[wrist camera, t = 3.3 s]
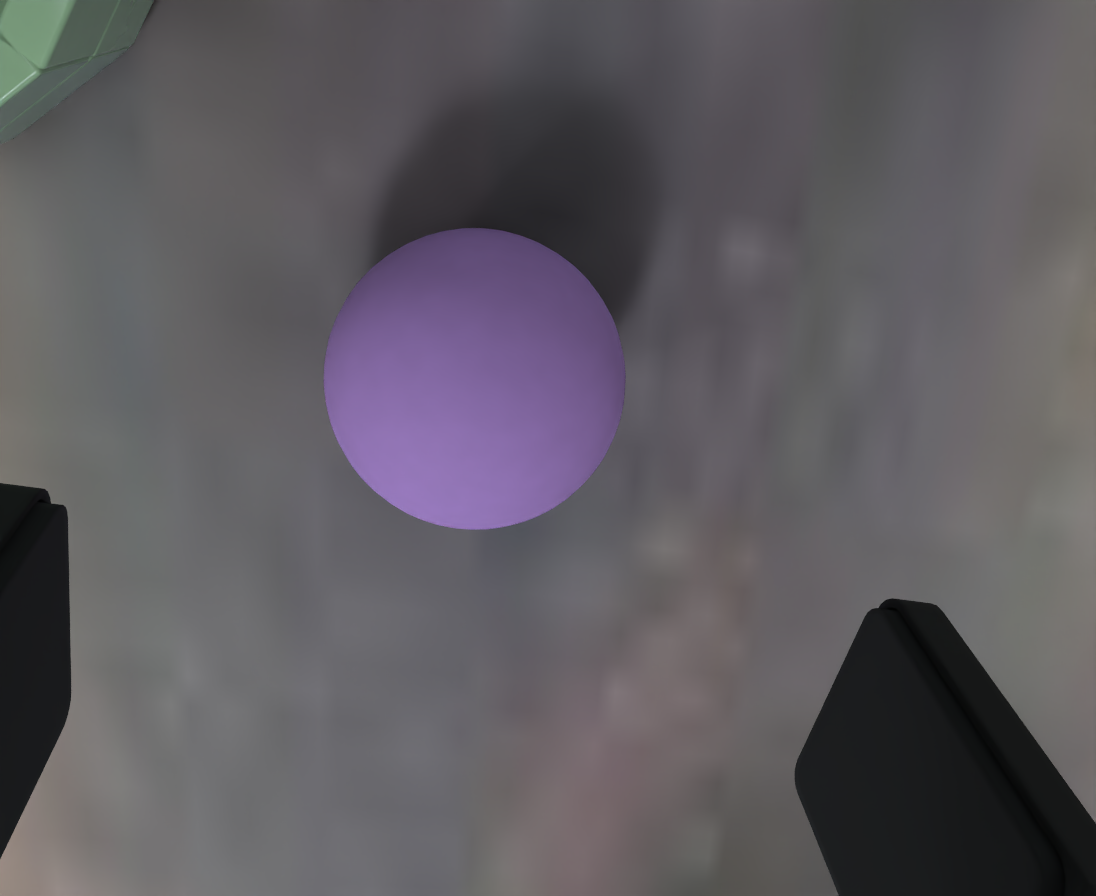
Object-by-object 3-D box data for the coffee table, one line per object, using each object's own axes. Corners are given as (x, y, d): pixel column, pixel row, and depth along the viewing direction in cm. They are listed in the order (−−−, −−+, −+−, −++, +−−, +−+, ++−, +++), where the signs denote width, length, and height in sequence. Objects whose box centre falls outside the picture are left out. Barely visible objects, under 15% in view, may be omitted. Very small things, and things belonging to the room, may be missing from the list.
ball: (631, 225, 21) (692, 319, 16) (570, 460, 23) (604, 608, 18) (358, 171, 20) (324, 250, 15) (326, 423, 22) (287, 568, 17)
